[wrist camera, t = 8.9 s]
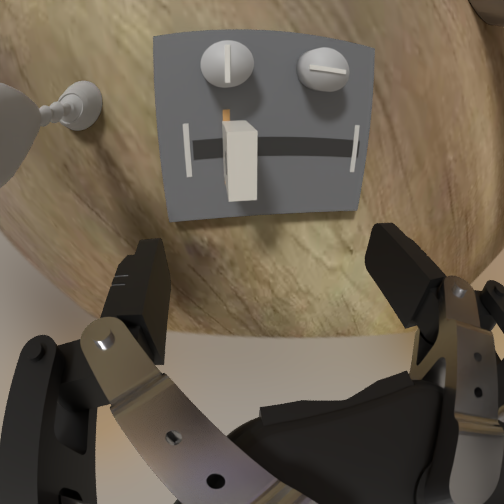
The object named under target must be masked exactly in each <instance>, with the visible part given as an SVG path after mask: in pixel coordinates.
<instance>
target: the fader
mask: <svg viewBox="0 0 504 504" xmlns="http://www.w3.org/2000/svg"><path fill="white" fill-rule="evenodd" d="M222 132H223V163H224V178H225V183H226V189H227V194H228V200H229V202H233V201H249V200H257V135H258V131H257V130H256V129H255V128H254V127H253V126H251V125H250V124H249V123H248V122H247V121H246V120H238V121H222Z"/></svg>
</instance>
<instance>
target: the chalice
mask: <svg viewBox="0 0 504 504" xmlns="http://www.w3.org/2000/svg"><path fill="white" fill-rule="evenodd" d="M101 108H102V96H101V93H100V90H99V89H98V88H97V86H96V85H95V84H93V83H91V82H89V81H79V82H76V83H74V84H72V85H71V86H69V87H68V88H67V90H66V91H65V92H64V93H63V94H62V95H61V97H60V98H59V100H58V102H54V103H52V104H51V105H50V107H48V106H45V105H44V106H42V107H41V108H40V109H39V108H38V106H37V105H36V104H35V103H34V102H33V101H32V100H31V99H30V98H29V97H27V96H26V95H25V94H24V93H22V92H20V91H19V90H17V89H14V88H12V87H10V86H8V85H6V84H3V83H0V188H1V187H2V186H3V185H5V184H6V183H7V182H8V181H9V180H10V179H11V178H12V177H13V176H14V174H15V173H16V171H17V169H18V168H19V166H20V165H21V163H22V162H23V160H24V159H25V157H26V155H27V153H28V152H29V150H30V148H31V146H32V144H33V142H34V140H35V138H36V136H37V134H38V132H39V129H40V126H46V125H48V124H49V122H52V123H57V122H60V123H61V124H62V125H64V126H66V127H68V128H69V129H71V130H76V131H80V130H84V129H86V128H88V127H90V126H91V125H92V124H93V123H94V122H95V121H96V120H97V118H98V116H99V114H100V112H101Z"/></svg>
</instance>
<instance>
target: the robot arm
mask: <svg viewBox="0 0 504 504" xmlns="http://www.w3.org/2000/svg"><path fill="white" fill-rule="evenodd" d="M469 1H470V3H471V4H472V6H473V8H474V9H475V11H476V12H477V14H478V15H479V16H480V17H481V18H482V19H483V20H484V21H485V22H486V23H488V24H490V25H497V26H502V27H504V0H469ZM365 266H366V269H367V271H368V272H369V274H370V275H371V277H372V278H373V280H374V281H375V283H376V284H377V285H378V287H379V288H380V290H381V291H382V293H383V294H384V296H385V297H386V299H387V300H388V302H389V304H390V305H391V307H392V308H393V310H394V311H395V313H396V314H397V316H398V318H399V319H400V321H401V322H402V324H403V326H404V327H405V329H406V328H409V327H412V326H416V325H417V326H418V329H417V331H416V333H415V339H414V348H413V355H412V362H411V368H410V373H409V374H408V372H407V371H404V372H402V373H399V374H396V375H393V376H390V377H388V378H385V379H381V380H378V381H376V382H375V383H374V384H372V385H370V386H369V387H367V388H365V389H364V390H362V391H361V392H359V393H357V394H356V395H354V396H352V397H350V398H349V399H347V400H342V401H307V400H301V401H296V402H290V403H285V404H280V405H272V406H266V407H260V412H259V417H258V418H255V419H253V420H250V421H249V422H246V423H245V424H243V425H241V426H239V427H238V428H236V429H235V430H234V431H232V432H231V433H230V434H229V435H227V436H225V435H224V434H223V433H222V432H221V431H220V430H219V429H218V428H217V427H216V426H215V425H214V424H213V423H212V422H211V421H210V420H209V419H208V418H207V417H206V416H205V415H204V414H202V412H201V411H200V410H199V409H198V408H197V407H196V406H195V405H194V404H193V403H192V402H191V401H190V400H189V399H188V398H187V397H186V396H185V394H184V393H183V392H182V391H181V390H180V389H179V388H178V387H177V385H176V384H175V383H174V382H173V381H172V380H171V379H170V378H169V377H168V376H167V375H166V374H165V373H163V374H162V373H161V372H160V371H159V369H158V368H157V367H156V366H155V365H164V356H165V342H166V331H167V320H168V310H169V300H170V292H171V280H170V273H169V269H168V264H167V260H166V255H165V251H164V246H163V242H162V239H161V238H155V239H145V240H140V241H139V244H138V247H137V250H136V252H135V255H127V256H126V257H125V258H124V260H123V261H122V262H121V263H120V264H119V265H118V268H117V271H116V273H115V277H114V279H113V281H112V286H111V287H110V290H109V293H108V296H107V299H106V302H105V305H104V308H103V311H102V314H101V317H100V319H97V320H95V321H93V322H92V323H90V324H89V325H88V326H87V327H86V328H85V330H84V331H83V333H82V336H81V339H79V340H76V341H72V342H69V343H65V344H62V345H58V346H57V344H56V343H55V342H54V340H53V339H52V338H51V337H49V336H46V335H40V336H36V337H34V338H32V339H30V340H29V341H28V342H27V343H26V344H25V346H24V347H23V349H22V351H21V353H20V356H19V360H18V363H17V366H16V369H15V373H14V376H13V380H12V384H11V388H10V391H9V396H8V400H7V405H6V410H5V415H4V421H3V426H2V433H1V440H0V504H97V496H96V478H95V441H96V419H97V407H100V406H103V405H108V404H111V407H110V410H111V412H112V414H113V416H114V418H115V419H116V421H117V422H118V424H119V425H120V427H121V429H122V430H123V432H124V433H125V435H126V436H127V437H128V439H129V440H130V442H131V443H132V445H133V446H134V447H135V449H136V450H137V451H138V453H139V454H140V455H141V457H142V458H143V459H144V461H145V462H146V463H147V465H148V466H149V467H150V468H151V469H152V471H153V472H154V473H155V474H156V476H157V477H158V478H159V479H160V480H161V481H162V482H163V484H164V485H165V486H166V487H167V488H168V489H169V490H170V491H171V493H173V495H174V496H175V497H176V498H177V500H176V502H175V503H174V504H504V358H503V360H502V361H501V360H500V358H499V356H498V355H497V353H496V351H495V345H494V338H493V334H492V332H491V330H492V329H493V327H494V326H495V325H496V323H497V324H498V326H499V327H500V329H501V330H502V332H503V333H504V286H503V285H501V284H500V283H498V282H496V281H493V280H489V281H487V283H486V284H485V286H484V288H483V290H482V291H476V290H473V288H472V287H471V285H470V284H469V283H468V282H467V281H465V280H464V279H462V278H460V277H457V276H446V275H445V274H444V273H443V272H442V271H441V270H440V268H439V267H438V266H437V265H436V264H435V263H434V262H433V261H432V260H431V259H430V258H429V256H427V254H426V253H425V252H424V251H423V250H421V248H420V247H419V246H418V245H417V244H416V243H415V242H414V241H413V240H412V239H410V238H408V237H407V236H406V235H405V234H404V233H403V232H402V231H401V230H400V229H399V228H398V227H397V226H396V225H395V224H393V223H376V224H375V225H374V226H373V228H372V231H371V235H370V239H369V243H368V247H367V251H366V254H365Z"/></svg>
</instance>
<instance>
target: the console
mask: <svg viewBox="0 0 504 504" xmlns="http://www.w3.org/2000/svg"><path fill="white" fill-rule="evenodd" d="M374 55H375V48H371V47H367V46H364V45H360V44H356V43H351V42H347V41H342V40H338V39H332V38H327V37H321V36H315V35H308V34H301V33H292V32H282V31H269V30H206V31H192V32H182V33H174V34H166V35H160V36H153V58H154V86H155V104H156V118H157V129H158V140H159V150H160V159H161V168H162V176H163V183H164V191H165V198H166V204H167V211H168V217H169V222H177V221H188V220H200V219H211V218H224V217H237V216H252V215H267V214H285V213H304V212H327V211H356V210H357V209H358V203H359V198H360V192H361V187H362V181H363V174H364V168H365V161H366V154H367V146H368V138H369V129H370V120H371V109H372V97H373V81H374ZM238 120H246V121H247V122H248V123H249V124H250V125H251V126H253V127H254V128H255V129H256V130H257V131H258V135H257V200H249V201H233V202H229V200H228V194H227V189H226V183H225V178H224V163H223V132H222V121H238Z"/></svg>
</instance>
